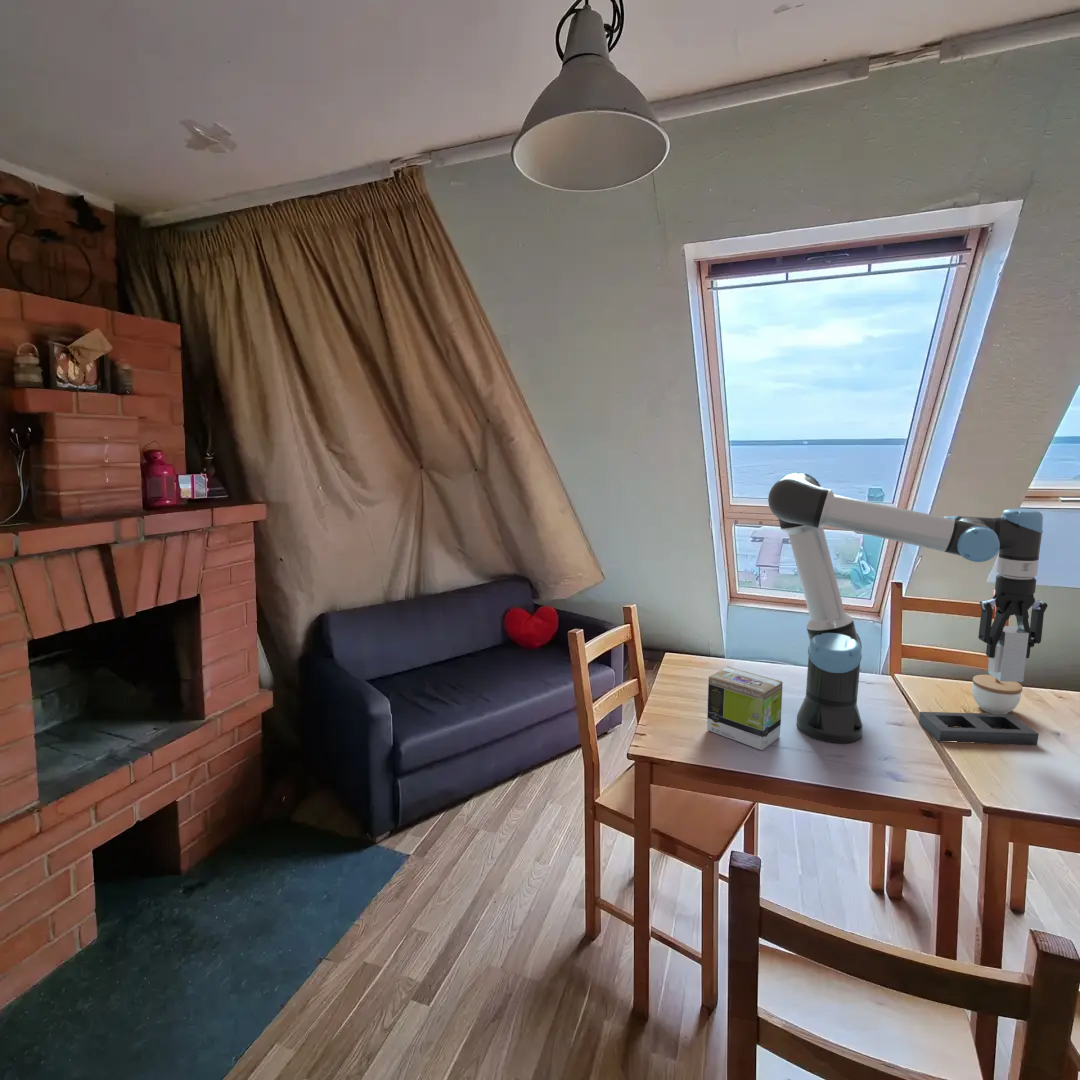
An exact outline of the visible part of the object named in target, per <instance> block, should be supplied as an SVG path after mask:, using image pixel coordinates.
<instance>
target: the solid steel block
mask: <svg viewBox="0 0 1080 1080" xmlns="http://www.w3.org/2000/svg"><path fill="white" fill-rule="evenodd" d="M1028 636H1029V633H1028V632H1026V631H1023V630H1021V629H1019V628H1018V626H1014V625H1013V626H1012V625H1005V626H1004V628H1003V631H1002V633H1001V636H1000V638H999V641H998V643H997V645H999V646H1001V647H1000V656H999V665H998V672H993V671H992V670H990V669H989V668H987V669H988V671H987V673H988V675H992V676H993V677H994V678H996V679H997V680H999V681H1007V682H1018V683H1019V682H1020V683H1024V679H1025V669H1026V661H1027V658H1026V654H1027V645H1028Z"/></svg>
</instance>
